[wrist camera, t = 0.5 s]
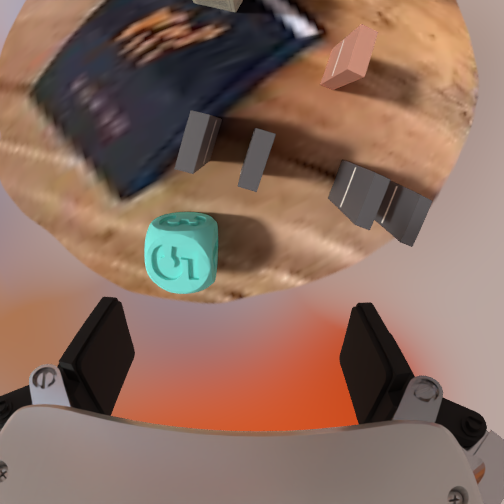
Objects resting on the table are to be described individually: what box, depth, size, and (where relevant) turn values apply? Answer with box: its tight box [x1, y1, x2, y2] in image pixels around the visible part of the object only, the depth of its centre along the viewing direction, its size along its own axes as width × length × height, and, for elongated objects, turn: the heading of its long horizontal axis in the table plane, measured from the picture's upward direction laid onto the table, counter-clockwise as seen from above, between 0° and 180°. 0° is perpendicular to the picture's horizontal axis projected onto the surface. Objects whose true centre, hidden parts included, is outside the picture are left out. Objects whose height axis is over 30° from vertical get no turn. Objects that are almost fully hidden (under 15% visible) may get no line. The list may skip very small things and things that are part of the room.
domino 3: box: [320, 24, 378, 90], centre depth 25 cm, size 2×6×11 cm, turn 163°
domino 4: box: [328, 160, 390, 230], centre depth 31 cm, size 2×6×11 cm, turn 163°
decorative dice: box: [145, 212, 218, 294], centre depth 36 cm, size 8×8×8 cm
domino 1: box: [175, 111, 222, 174], centre depth 29 cm, size 2×6×11 cm, turn 163°
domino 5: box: [374, 181, 432, 247], centre depth 32 cm, size 2×6×11 cm, turn 163°
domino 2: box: [238, 128, 276, 192], centre depth 30 cm, size 2×6×11 cm, turn 163°
